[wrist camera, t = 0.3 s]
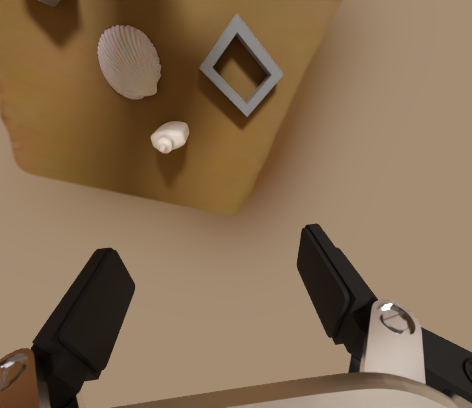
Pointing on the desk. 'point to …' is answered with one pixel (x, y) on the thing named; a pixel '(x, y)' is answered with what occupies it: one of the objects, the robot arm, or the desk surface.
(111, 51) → the seashell
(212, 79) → the bottle holder
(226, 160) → the desk surface
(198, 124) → the desk surface
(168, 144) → the eye dropper bottle
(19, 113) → the desk surface
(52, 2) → the dice cube
